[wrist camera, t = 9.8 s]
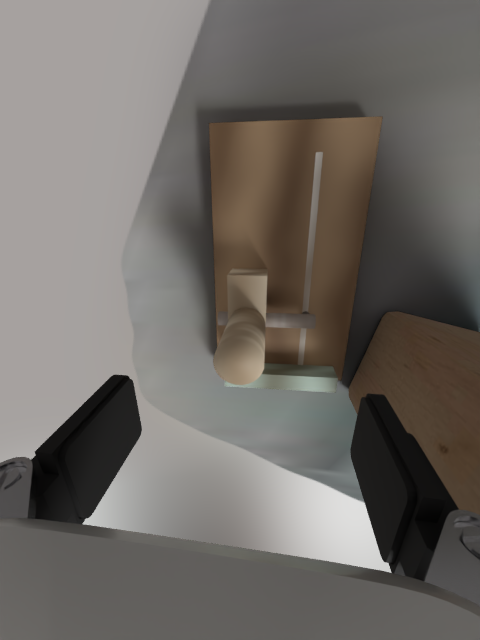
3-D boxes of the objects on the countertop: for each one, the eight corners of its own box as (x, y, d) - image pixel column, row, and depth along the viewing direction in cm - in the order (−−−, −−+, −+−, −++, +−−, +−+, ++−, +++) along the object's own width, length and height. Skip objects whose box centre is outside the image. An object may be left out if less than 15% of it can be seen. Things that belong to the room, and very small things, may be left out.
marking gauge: (315, 269, 22) (345, 299, 13) (307, 355, 25) (327, 424, 16) (220, 268, 23) (192, 296, 14) (223, 351, 25) (200, 415, 17)
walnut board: (371, 126, 20) (395, 104, 16) (336, 369, 27) (347, 393, 23) (214, 131, 21) (202, 112, 17) (221, 364, 28) (214, 385, 25)
